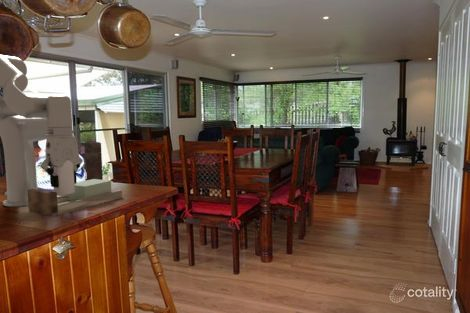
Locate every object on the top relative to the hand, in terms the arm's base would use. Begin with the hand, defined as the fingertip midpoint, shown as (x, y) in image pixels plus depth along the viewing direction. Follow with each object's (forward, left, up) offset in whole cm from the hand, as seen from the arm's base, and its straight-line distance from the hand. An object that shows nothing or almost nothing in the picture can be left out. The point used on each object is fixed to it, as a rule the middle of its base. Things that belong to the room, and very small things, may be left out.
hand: (64, 184), depth 126 cm
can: (0, 0, -3) cm, 3 cm away
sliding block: (0, +11, -7) cm, 13 cm away
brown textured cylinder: (-24, +34, -8) cm, 43 cm away
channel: (0, +6, -8) cm, 10 cm away
